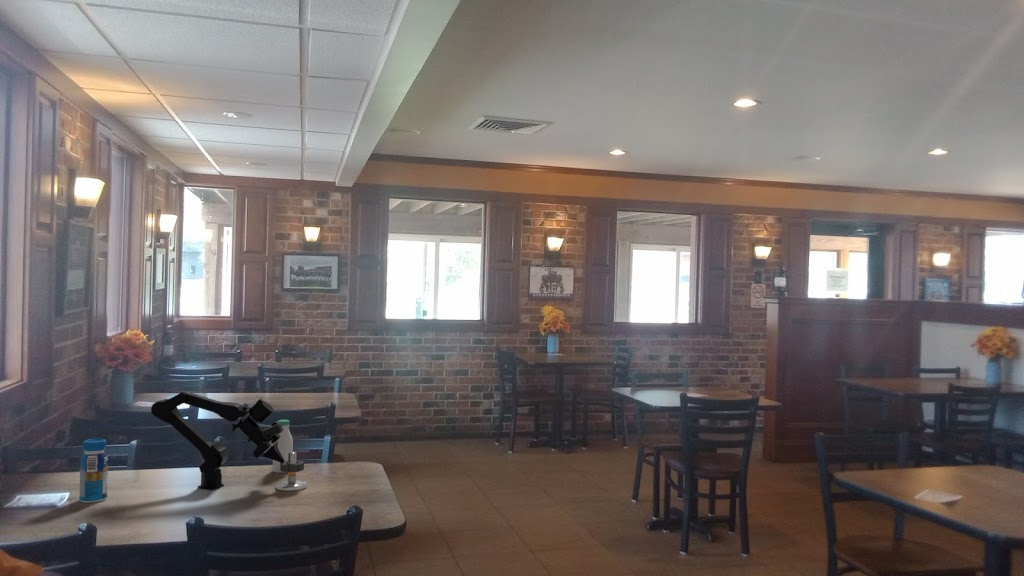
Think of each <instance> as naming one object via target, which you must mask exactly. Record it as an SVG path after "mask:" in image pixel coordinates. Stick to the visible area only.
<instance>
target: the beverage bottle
mask: <svg viewBox="0 0 1024 576" xmlns="http://www.w3.org/2000/svg"><path fill="white" fill-rule="evenodd" d="M106 448H107V440H106V439H104V438H91V439H86V440H84V441H83V442H82V451H83V452H84V453H83V454H82V456H81V458H80V459H79V460H80V461H79V463H80V467H79V497H78V499H79V502H80V503H83V504H92V503H94V504H95V503H100V502H102V501H105V500H106V499H107V497H108V473H109V465H108V461H109V457H108V455H107V453H106V452H105V451H106V450H107V449H106Z"/></svg>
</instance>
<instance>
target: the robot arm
mask: <svg viewBox="0 0 1024 576" xmlns="http://www.w3.org/2000/svg"><path fill="white" fill-rule="evenodd" d="M184 404H185V405H189V406H191V407H195V408H198V409H202V410H205V411H208V412H210V413H211V412H212V413H214V414H216V415H218V417H220V418H222V419H224V420H226V421H228V422H231V423H232V422H233V423H232V429H231V430H232V432H233V433H234V432H235V431H237V430H238V429H239V431H240V432H241V433H242V434H243V435H244V436H245V437H247V438H248V439H247V442H249V443H250V442H251V443H252V444H253V445H254V446H255V449H254V450H253V451H252V456H253V457H254V458H255V459H256V460H257V459H258V458H260V457H263V458H266V459H267V458H268V459H270V460H275V461H278V462H281V463H283V462H284V461H285V460H284V458H283V457H282V455H281V453H280V451H279V449H278V441H277V440H278V439H279V438H280V437H281V436H280V435H279V433H281V432H282V431H283V428H282V424H281V423H278V422H277V421H278V420H275V421H273V422H272V423H271V426H270V427H268V428H266V427H265V426H260V424H259V423H264V422H265V421H266V420H267V418H269V417H270V416H271V415H272V414H273V413H274V412H275V410H274V408H273V406H272V405H271V404H270V403H268V402H267V401H264V400H263V399H262V398H260V399H258V400H257V401H256V402H255V404H254V405H253V406H251V407H249V406H243V404H241V403H240V402H232V401H231V402H230V401H220V400H216V399H213V398H209V397H206V396H202V395H199V394H196V393H193V392H190V391H188V390H184V391H183V390H182V391H180V392H179V393H178V394H176V395H173V396H171V397H170V398H162V399H161V400H158V401H155V402H154V403H153V404H152V405H151V408H150V414H152V415H153V416H154V417H155V418H156V419H158V420H160V421H162V422H164V423H166V424H169V425H170V426H171V427H172V428H174V429H175V430H176V431H177V432H178V433H179V434H180V435H182V437H184V439H186V440H187V442H189V443H190V444H191V446H194V447H195V449H196V450H198V452H199V454H200V455H201V457H202V460H203V461H204V462H203V463H201V465H199V466H198V467H199V472H200V474H201V475H200V485H198V486H197V488H198V489H203V490H215V489H218V488H220V487H223V486H225V484H224V483H222V481H223V480H222V479H223V478H222V477H223V474H222V469H220V468H222V466H223V465H224V463H225V462H226V461H227V460H228V456H229V454H228V451H227V450H226V449H227V448H226V447H225V446H223V445H222V444H221V442H220V441H218V440H217V441H216V442H212V441H209V440H208V438H206V437H205V436H204V435H203V434H202V433H200V431H199V430H197V428H195V426H193V425H192V424H191V423H190V422H189V421H187V420H186V419H185V417H184V416H182V415H181V413H180V411H179V409H178V407H179V406H181V405H184ZM247 415H248V416H247ZM245 416H246V418H245ZM237 420H238V421H237ZM236 421H237V422H236ZM276 441H277V442H276ZM275 442H276V443H275Z"/></svg>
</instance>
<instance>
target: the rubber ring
mask: <svg viewBox="0 0 1024 576" xmlns="http://www.w3.org/2000/svg"><path fill="white" fill-rule="evenodd" d="M280 470H281V471H282V472H286V473H288V472H296V473H298V472H301V471H304V470H305V462H304V461H303V460H297V459H296V464H288V461H284V462H283V463H280Z"/></svg>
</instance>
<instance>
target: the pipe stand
mask: <svg viewBox="0 0 1024 576" xmlns="http://www.w3.org/2000/svg"><path fill="white" fill-rule="evenodd" d="M296 460H297V451H293V452H289V453H288V464H296ZM306 487H308V482H306V481H303V480H297V472H287V480H285V481H279V482H278V483H276V484H275V490H277V491H280V492H297V491H298V492H299V491H303V490H305V489H307V488H306ZM302 489H303V490H302Z"/></svg>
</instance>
